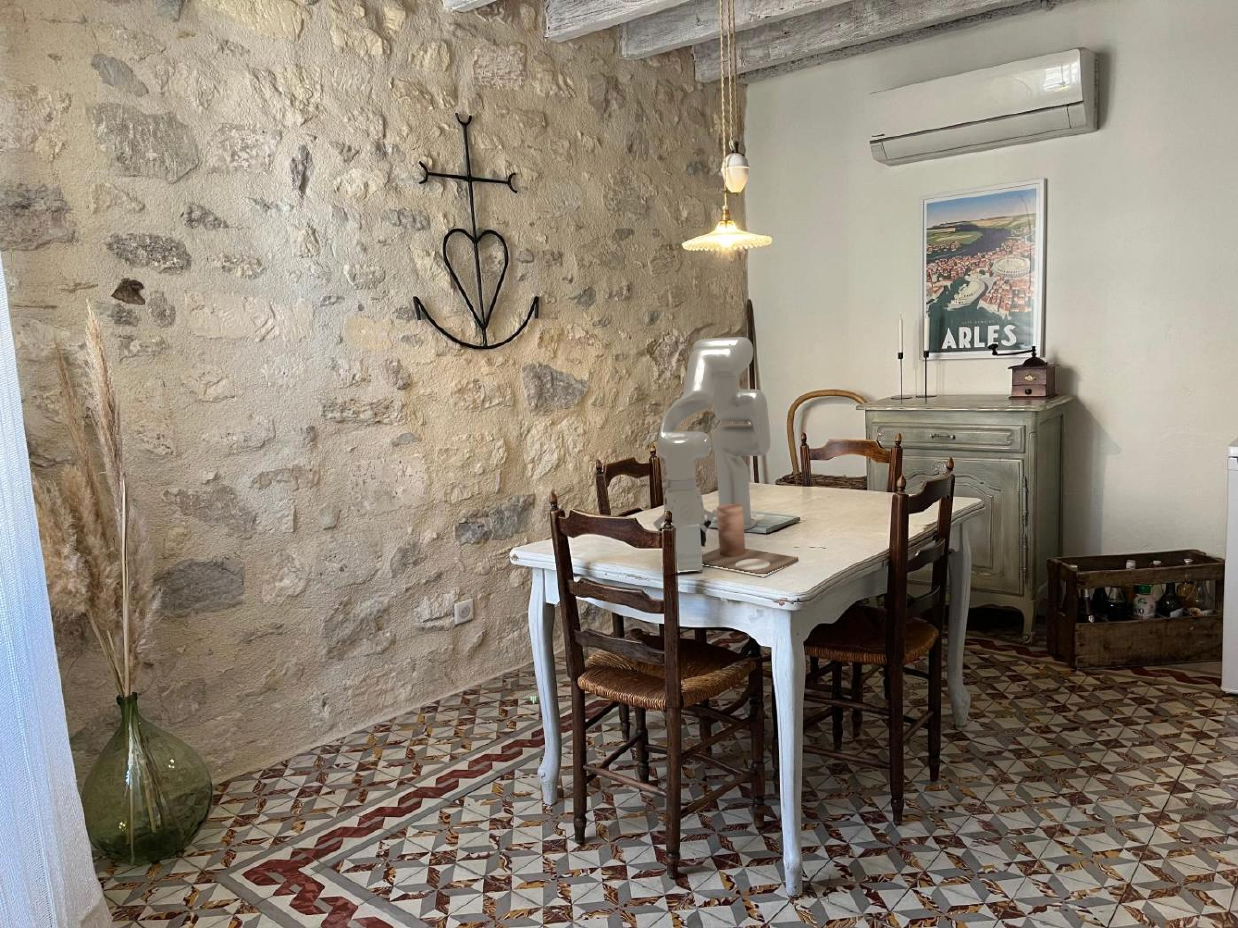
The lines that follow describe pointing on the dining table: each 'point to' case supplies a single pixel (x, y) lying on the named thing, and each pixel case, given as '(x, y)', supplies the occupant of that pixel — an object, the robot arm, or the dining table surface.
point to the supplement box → (689, 548)
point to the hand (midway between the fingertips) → (686, 547)
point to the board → (748, 555)
